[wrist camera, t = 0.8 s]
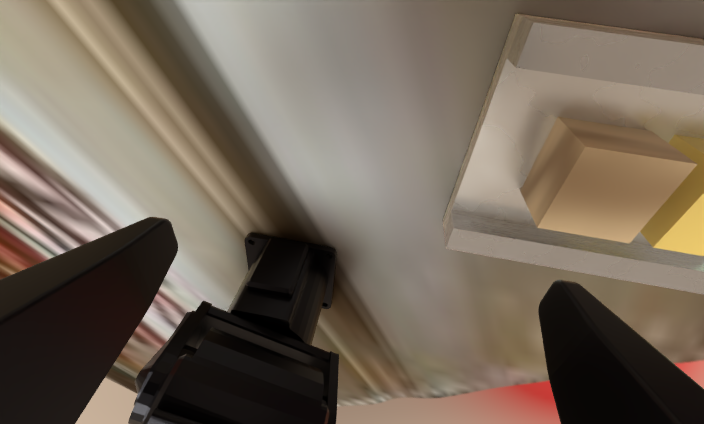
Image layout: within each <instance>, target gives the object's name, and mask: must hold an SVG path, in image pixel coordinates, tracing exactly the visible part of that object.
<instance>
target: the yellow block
mask: <svg viewBox="0 0 704 424" xmlns="http://www.w3.org/2000/svg"><path fill="white" fill-rule="evenodd" d="M669 144H670V145H671V146H673V147H674V148H676V149H677V150H678V151H680V152H681V153H683V154H684V155H685V156H687V157H688V158H690V159H691V160H692V161H694V162H695V163H697V166H696V167H695V168H694V169H693V170H692V171H691V173H690V174H689V175H688V176H687V177H686V178H685V180H684V181H683V182H682V183H681V184H680V185H679V187H678V188H677V189H676V190H675V191H674V192H673V194H672V195H671V196H670V197H669V198H668V199H667V201H666V202H665V203H664V204H663V205H662V206H661V208H660V209H659V210H658V211H657V212H656V213H655V214H654V216H653V217H652V218H651V219H650V220H649V221H648V223H647V224H646V225H645V226H644V227H643V228H642V230H641V231H640V232H641V234H642V235H643V236H644V237H645V238H646V240H647V241H648V242H649V243H650V244H651V246H652V247H653V248H659V249H665V250H670V251H676V252H682V253H688V254H694V255H700V256H704V139H701V138H695V137H688V136H682V135H674V136H673V137H672V139H671V140H670V141H669Z"/></svg>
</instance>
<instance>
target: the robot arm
mask: <svg viewBox="0 0 704 424" xmlns="http://www.w3.org/2000/svg"><path fill="white" fill-rule="evenodd" d="M252 240H253V241H252ZM245 247H246V254H247V262H248V269H249V272H248V273H247V275H246V277H245V279H244V281H243V283H242V285H241V287H240V288H239V290H238V292H237V294H236V296H235V298H234V300H233V301H232V303H231V305H230V307H229V309H228V311H227V312H226V311H224V310H221V309H219V308H216V307H214V306H212V304H211V303H208V302H206V301H203V302H202V303H201V304H200V306H199V307H198V309H197V310H196V311H192V312H187V313H186V315H185V316H184V318H183V320H182V321H181V323H180V324H179V326H178V327H177V329H176V330H175V332H174V333H173V335H172V336H171V337H170V339H169V340H168V341H167V342H166V343H165V344H164V345H163V347H162V348H161V349H160V350H159V351H158V352H157V353H156V354H155V355H154V356H153V358H152V359H151V360H150V361H149V362H148V363H147V364H146V365H145V366H144V367H143V369H142V370H141V371H140V373H139V374H138V376H137V378H136V380H135V384H136V388H137V392H138V395H137V398H136V400H135V403H134V405H135V406H134V409H133V411H132V413H131V416H130V418H129V422H128V423H129V424H336V414H337V390H338V364H339V355H338V354H336V353H334V352H331V351H330V352H327V351H324V350H322V349H319V348H317V347H314V346H312V345H311V344H312V341H313V337H314V333H315V329H316V326H317V322H318V318H319V315H320V311H321V308H324V309H328V308H330V307H331V304H332V296H333V286H334V277H335V267H336V257H337V251H336V250H335V249H334V248H331V247H326V246H321V245H315V244H310V243H304V242H299V241H293V240H288V239H282V238H277V237H271V236H266V235H260V234H254V233H250V234H248V235H247V237H246V238H245ZM177 251H178V243H177V240H176V237H175V234H174V231H173V228H172V224H171V222H170V221H169V220H167V219H164V218H157V217H149V218H146V219H144V220H141V221H139V222H136V223H134V224H132V225H129V226H127V227H125V228H122V229H120V230H117V231H115V232H113V233H110V234H108V235H106V236H103V237H101V238H98V239H96V240H94V241H91V242H89V243H87V244H84V245H82V246H79V247H77V248H75V249H72V250H70V251H67V252H65V253H63V254H60V255H58V256H56V257H53V258H51V259H48V260H46V261H44V262H41V263H39V264H37V265H34V266H32V267H29V268H27V269H25V270H22V271H20V272H18V273H15V274H13V275H10V276H8V277H6V278H3V279H1V280H0V424H75V423H76V421H77V420H78V418H79V417H80V415H81V413H82V412H83V410H84V409H85V407H86V405H87V404H88V403H89V401H90V399H91V398H92V396H93V395H94V393H95V392H96V390H97V389H98V387H99V385H100V383H101V382H102V381H103V379H104V378H105V376H106V375H107V373H108V371H109V370H110V368H111V367H112V365H113V364H114V362H115V361H116V359H117V357H118V356H119V354H120V353H121V351H122V350H123V348H124V347H125V345H126V343H127V342H128V340H129V339H130V337H131V336H132V334H133V333H134V331H135V329H136V328H137V326H138V325H139V323H140V322H141V320H142V319H143V317H144V315H145V314H146V312H147V310H148V309H149V307H150V305H151V303H152V301H153V300H154V298H155V296H156V294H157V292H158V290H159V288H160V286H161V284H162V282H163V280H164V278H165V276H166V274H167V272H168V270H169V268H170V266H171V264H172V262H173V260H174V258H175V256H176V254H177ZM329 254H331V255H329ZM538 312H539V319H540V326H541V332H542V338H543V345H544V351H545V358H546V364H547V370H548V375H549V380H550V384H551V388H552V392H553V396H554V399H555V403H556V407H557V410H558V414H559V418H560V422H561V424H704V389H703V388H702V387H701V386H699V385H698V384H697V383H696V382H695V381H694V380H692V379H691V378H690V377H689V376H687V374H685V373H684V372H683V371H682V370H680V369H679V368H678V367H677V366H676V365H675V364H673V363H672V362H671V361H670V360H669V359H668V358H666V357H665V356H664V355H663V354H662V353H660V352H659V351H658V350H657V349H656V348H654V347H653V346H652V345H651V344H650V343H649V342H647V341H646V340H645V339H644V338H643V337H641V336H640V335H639V334H638V333H637V332H635V331H634V330H633V329H632V328H631V327H630V326H628V325H627V324H626V323H625V322H624V321H622V320H621V319H620V318H619V317H618V316H616V315H615V314H614V313H613V312H612V311H611V310H609V309H608V308H607V307H606V306H605V305H603V304H602V303H601V302H600V301H599V300H597V299H596V298H595V297H594V296H593V295H591V294H590V293H589V292H588V291H587V290H586V289H584V288H583V287H582V286H581V285H579V284H578V283H575V282H570V281H564V280H557V281H555V282H553V284H552V285H551V287H550V288H549V290H548V291H547V293H546V294H545V296H544V297H543V299H542V300H541V302H540V304H539V311H538Z"/></svg>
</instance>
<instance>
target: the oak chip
mask: <svg viewBox="0 0 704 424" xmlns="http://www.w3.org/2000/svg"><path fill="white" fill-rule="evenodd" d="M696 166H697V163H695V162H694V161H692V160H691V159H690V158H688V157H687V156H685V155H684V154H683V153H681V152H680V151H678V150H677V149H676V148H674V147H673V146H671V145H670V144H669V143H667V142H666V141H664V140H663V139H662V138H660V137H659V136H657V135H656V134H655V133H653V132H652V131H649V130H642V129H635V128H629V127H622V126H616V125H609V124H603V123H596V122H589V121H583V120H576V119H570V118H563V117H557V119H556V121H555V123H554V125H553V127H552V129H551V131H550V133H549V135H548V137H547V139H546V141H545V143H544V145H543V147H542V149H541V151H540V153H539V154H538V156H537V158H536V160H535V162H534V164H533V166H532V168H531V170H530V172H529V174H528V176H527V178H526V180H525V182H524V184H523V186H522V188H521V190H520V192H521V194H522V196H523V198H524V200H525V203H526V205H527V207H528V209H529V211H530V213H531V215H532V218H533V220H534V222H535V224H536V226H537V228H542V229H548V230H553V231H559V232H565V233H571V234H577V235H583V236H588V237H594V238H600V239H606V240H612V241H618V242H624V243H629V244H630V242H631V241H632V240H633V239H634V238H635V237H636V235H637V234H638V233H639V232H640V231H641V230H642V228H643V227H644V226H645V225H646V224H647V223H648V221H649V220H650V219H651V218H652V217H653V216H654V214H655V213H656V212H657V211H658V210H659V209H660V208H661V206H662V205H663V204H664V203H665V202H666V201H667V199H668V198H669V197H670V196H671V195H672V194H673V192H674V191H675V190H676V189H677V188H678V187H679V185H680V184H681V183H682V182H683V181H684V180H685V178H686V177H687V176H688V175H689V174H690V173H691V171H692V170H693V169H694V168H695V167H696Z"/></svg>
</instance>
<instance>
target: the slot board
mask: <svg viewBox="0 0 704 424" xmlns="http://www.w3.org/2000/svg"><path fill="white" fill-rule="evenodd" d="M557 117H563V118H570V119H576V120H583V121H589V122H596V123H603V124H609V125H616V126H622V127H629V128H635V129H642V130H649V131H652V132H653V133H655V134H656V135H657V136H659V137H660V138H662V139H663V140H664V141H666V142H667V143H669V141H670V140H671V139H672V137H673V136H674V135H682V136H688V137H695V138H701V139H704V39H700V38H693V37H686V36H678V35H671V34H664V33H656V32H649V31H641V30H634V29H627V28H619V27H612V26H605V25H597V24H590V23H582V22H575V21H568V20H560V19H553V18H546V17H538V16H531V15H524V14H516V15H515V17H514V20H513V23H512V26H511V29H510V32H509V34H508V37H507V40H506V43H505V46H504V49H503V51H502V54H501V57H500V60H499V63H498V65H497V68H496V71H495V74H494V77H493V80H492V82H491V85H490V88H489V91H488V94H487V97H486V99H485V102H484V105H483V108H482V111H481V114H480V116H479V119H478V122H477V125H476V128H475V131H474V133H473V136H472V139H471V142H470V145H469V147H468V150H467V153H466V156H465V159H464V162H463V164H462V167H461V170H460V173H459V176H458V179H457V181H456V184H455V187H454V190H453V193H452V196H451V198H450V201H449V204H448V207H447V210H446V213H445V215H444V218H443V228H444V238H445V247H446V249H450V250H456V251H462V252H467V253H473V254H479V255H484V256H490V257H496V258H501V259H507V260H513V261H518V262H524V263H529V264H535V265H541V266H546V267H552V268H558V269H563V270H569V271H575V272H580V273H586V274H592V275H597V276H603V277H609V278H614V279H620V280H625V281H631V282H637V283H642V284H648V285H654V286H659V287H665V288H671V289H676V290H682V291H688V292H693V293H699V294H704V256H700V255H694V254H688V253H682V252H676V251H670V250H665V249H659V248H653V247H652V246H651V244H650V243H649V242H648V241H647V240H646V238H645V237H644V236H643V235H642V234H641V232H639V233H638V234H637V235H636V237H635V238H634V239H633V240H632V241H631V242H630V244H629V243H624V242H618V241H612V240H606V239H600V238H594V237H588V236H583V235H577V234H571V233H565V232H559V231H553V230H548V229H542V228H537V226H536V224H535V222H534V220H533V218H532V215H531V213H530V211H529V209H528V207H527V205H526V203H525V200H524V198H523V196H522V194H521V192H520V190H521V188H522V186H523V184H524V182H525V180H526V178H527V176H528V174H529V172H530V170H531V168H532V166H533V164H534V162H535V160H536V158H537V156H538V154H539V153H540V151H541V149H542V147H543V145H544V143H545V141H546V139H547V137H548V135H549V133H550V131H551V129H552V127H553V125H554V123H555V121H556V119H557Z"/></svg>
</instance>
